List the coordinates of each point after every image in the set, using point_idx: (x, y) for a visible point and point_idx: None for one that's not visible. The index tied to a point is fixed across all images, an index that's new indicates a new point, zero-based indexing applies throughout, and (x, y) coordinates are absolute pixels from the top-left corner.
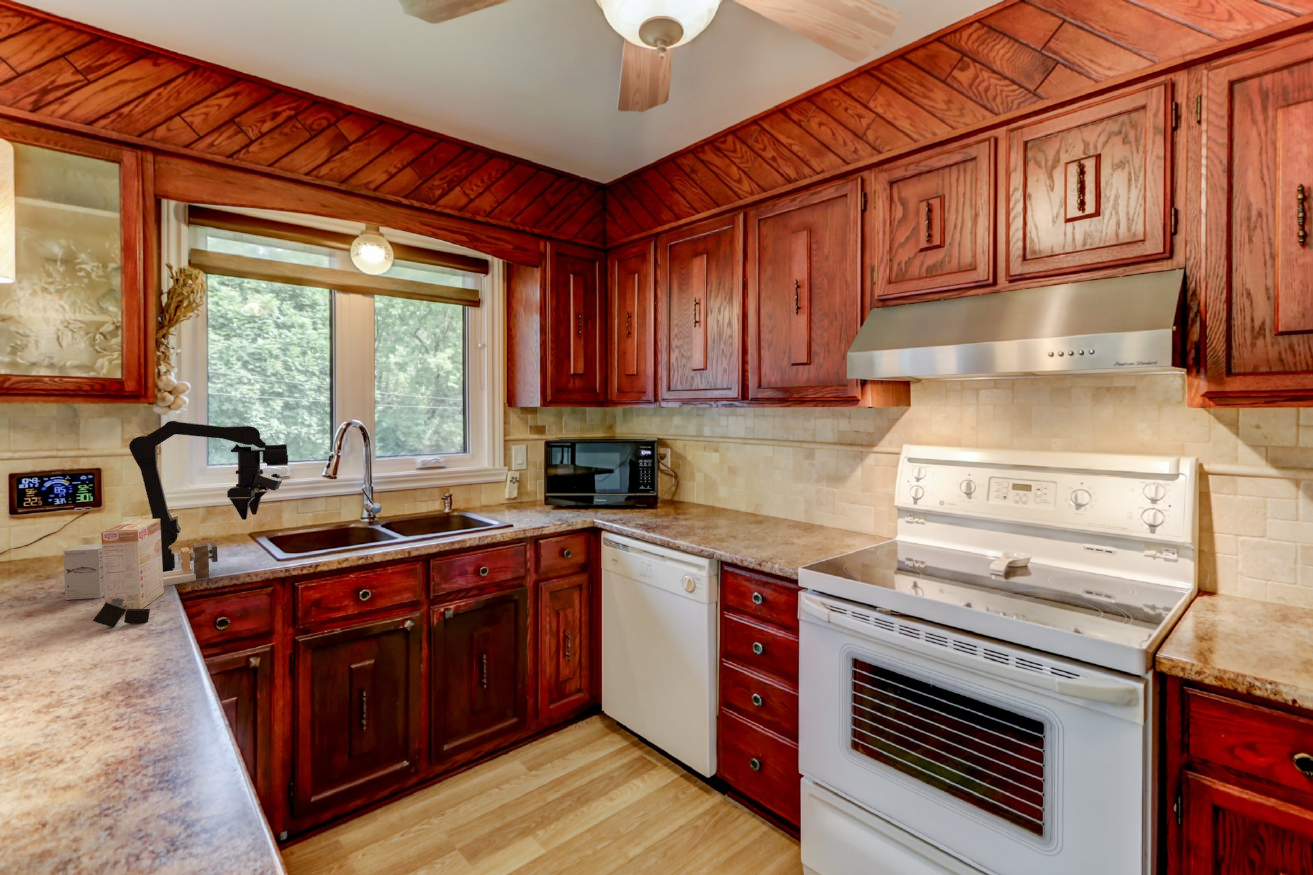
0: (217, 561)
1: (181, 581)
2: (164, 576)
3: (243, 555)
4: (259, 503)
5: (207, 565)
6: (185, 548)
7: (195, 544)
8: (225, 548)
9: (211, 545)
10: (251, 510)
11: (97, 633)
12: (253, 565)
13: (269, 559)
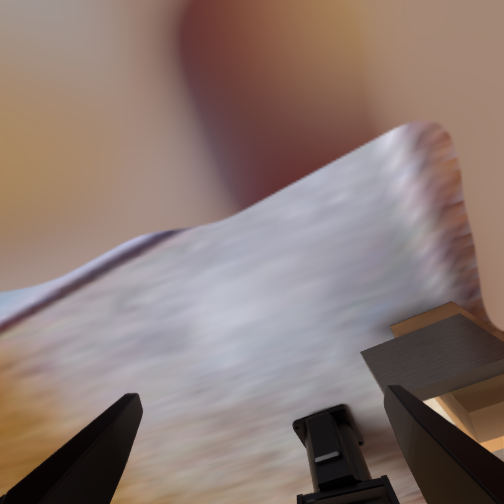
0: (460, 314)
1: None
2: None
3: (176, 312)
4: (4, 495)
5: (487, 326)
6: (495, 440)
7: (501, 431)
8: (79, 388)
9: (480, 379)
10: (126, 455)
11: None
12: (330, 233)
13: (251, 210)
